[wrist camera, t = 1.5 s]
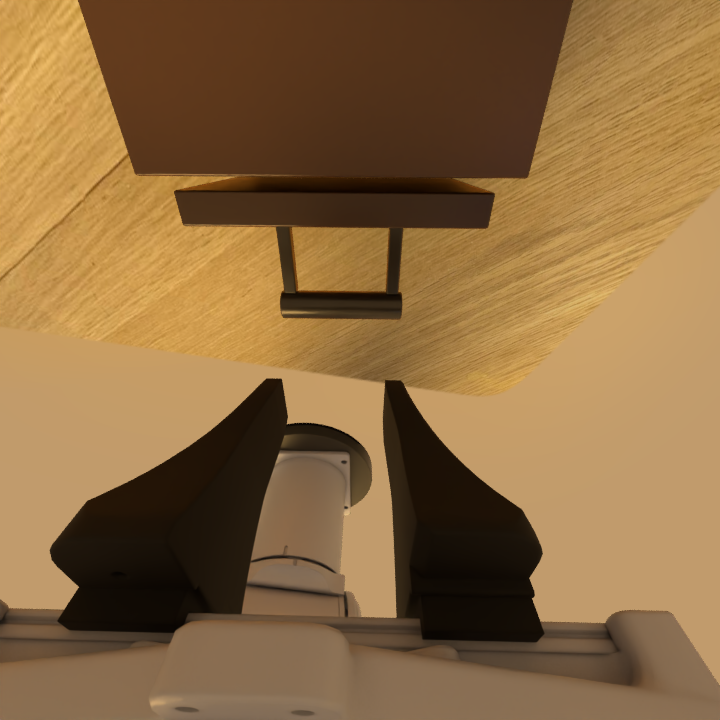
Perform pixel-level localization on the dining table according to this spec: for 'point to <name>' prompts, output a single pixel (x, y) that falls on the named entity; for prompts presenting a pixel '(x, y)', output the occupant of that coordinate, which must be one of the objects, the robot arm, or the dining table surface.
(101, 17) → the brown drawer cabinet
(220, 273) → the dining table surface
